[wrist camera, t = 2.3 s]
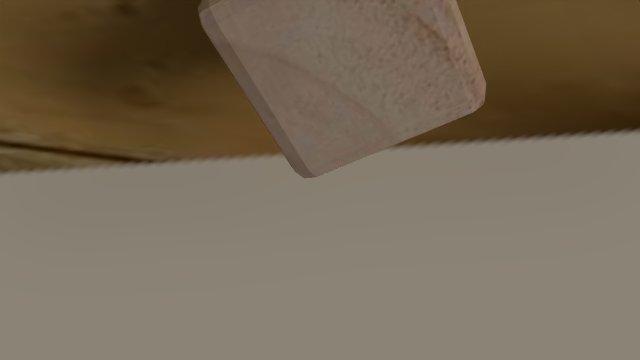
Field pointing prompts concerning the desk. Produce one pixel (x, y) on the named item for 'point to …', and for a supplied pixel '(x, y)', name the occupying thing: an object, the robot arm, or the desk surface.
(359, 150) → the wooden block
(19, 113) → the desk surface
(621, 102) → the desk surface
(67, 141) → the desk surface
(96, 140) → the desk surface
